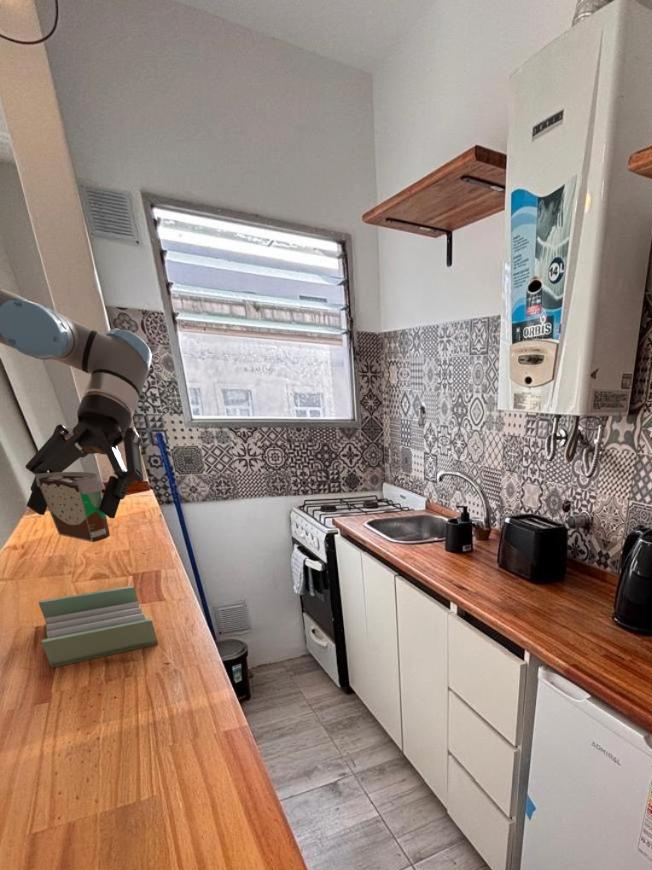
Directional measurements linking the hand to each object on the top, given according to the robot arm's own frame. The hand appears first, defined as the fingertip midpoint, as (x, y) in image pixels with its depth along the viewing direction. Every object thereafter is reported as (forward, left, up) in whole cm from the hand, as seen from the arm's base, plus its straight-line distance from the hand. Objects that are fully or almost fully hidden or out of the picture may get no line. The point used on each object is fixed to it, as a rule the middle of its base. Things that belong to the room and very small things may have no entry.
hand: (70, 512), depth 86 cm
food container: (+1, +2, -4) cm, 5 cm away
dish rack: (+11, -12, -16) cm, 23 cm away
